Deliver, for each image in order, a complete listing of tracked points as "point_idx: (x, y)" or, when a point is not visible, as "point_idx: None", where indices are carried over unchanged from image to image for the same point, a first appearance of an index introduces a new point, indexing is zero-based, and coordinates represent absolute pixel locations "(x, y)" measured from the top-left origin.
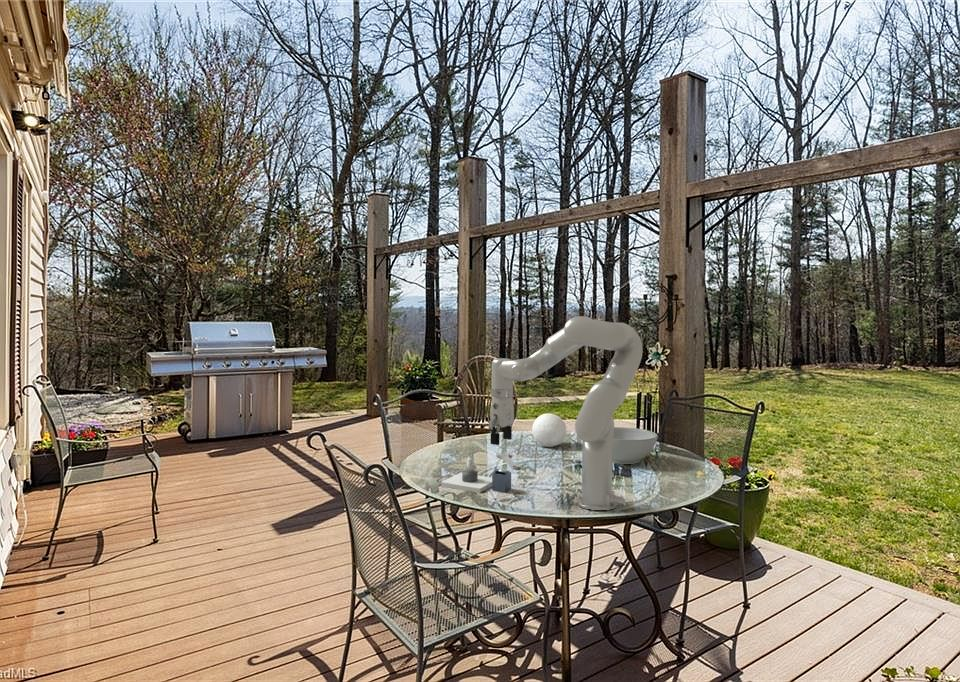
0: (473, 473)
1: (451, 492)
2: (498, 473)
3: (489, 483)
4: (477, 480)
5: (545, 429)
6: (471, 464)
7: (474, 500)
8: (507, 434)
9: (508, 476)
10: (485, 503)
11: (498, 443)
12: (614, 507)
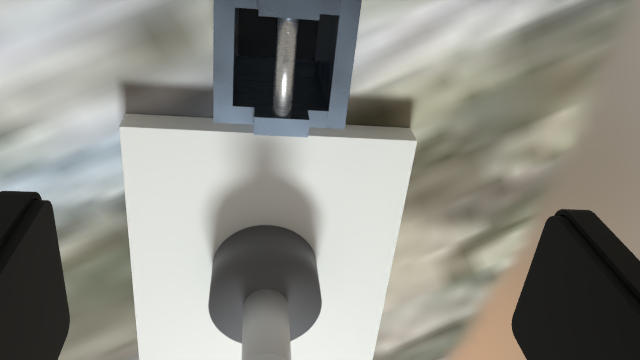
0: (287, 274)
1: (453, 265)
2: (256, 100)
3: None
4: (246, 228)
5: None
6: (279, 338)
7: (564, 95)
8: (27, 320)
9: None
10: (611, 4)
11: (597, 223)
12: None
